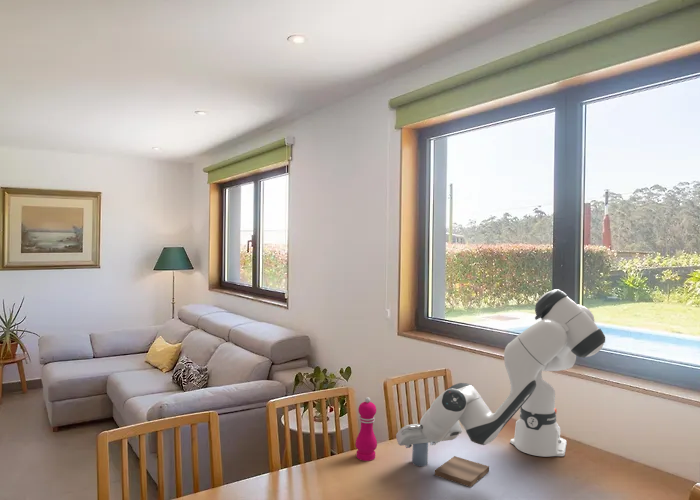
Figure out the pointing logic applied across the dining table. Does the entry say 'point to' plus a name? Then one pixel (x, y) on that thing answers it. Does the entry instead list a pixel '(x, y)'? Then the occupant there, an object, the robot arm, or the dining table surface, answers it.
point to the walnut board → (462, 471)
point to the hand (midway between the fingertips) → (419, 444)
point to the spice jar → (420, 454)
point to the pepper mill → (366, 432)
